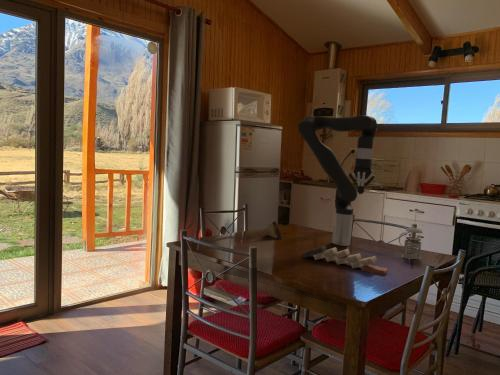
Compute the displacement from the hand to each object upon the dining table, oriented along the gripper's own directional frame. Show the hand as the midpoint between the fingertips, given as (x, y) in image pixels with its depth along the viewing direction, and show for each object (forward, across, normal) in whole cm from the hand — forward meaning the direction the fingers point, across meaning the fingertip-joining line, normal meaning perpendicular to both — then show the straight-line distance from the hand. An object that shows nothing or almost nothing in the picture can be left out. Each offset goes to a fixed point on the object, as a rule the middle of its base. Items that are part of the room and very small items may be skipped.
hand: (360, 193), depth 193 cm
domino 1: (+30, -19, -18) cm, 40 cm away
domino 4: (+30, -3, -18) cm, 35 cm away
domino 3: (+30, -8, -18) cm, 36 cm away
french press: (+31, +23, +19) cm, 43 cm away
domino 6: (+30, +9, -19) cm, 37 cm away
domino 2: (+30, -13, -18) cm, 38 cm away
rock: (+31, -49, +10) cm, 59 cm away
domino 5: (+30, +5, -19) cm, 36 cm away
